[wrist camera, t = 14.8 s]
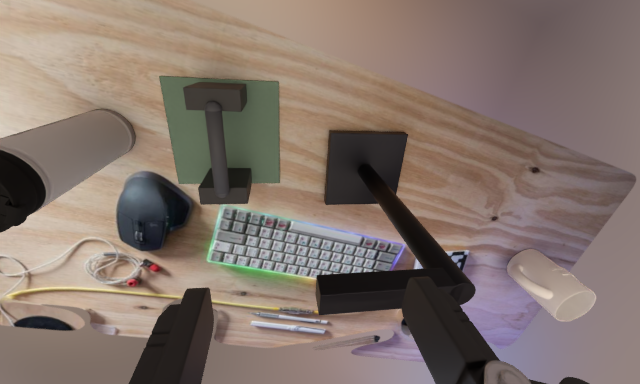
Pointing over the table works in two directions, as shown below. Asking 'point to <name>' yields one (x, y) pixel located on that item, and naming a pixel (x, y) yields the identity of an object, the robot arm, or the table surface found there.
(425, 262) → the stand
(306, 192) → the table surface
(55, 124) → the travel mug
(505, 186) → the table surface
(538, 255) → the mug
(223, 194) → the square-ended dumbbell
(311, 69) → the table surface
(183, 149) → the desk mat
